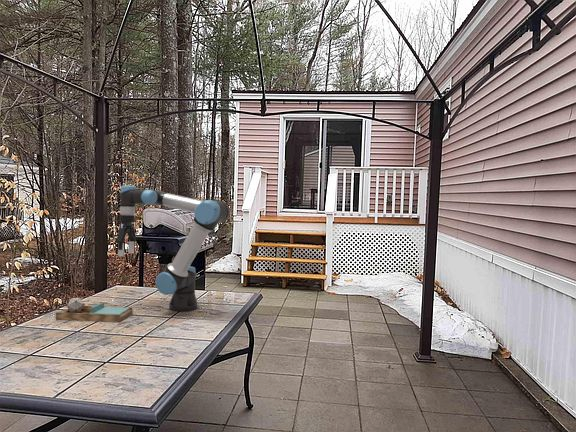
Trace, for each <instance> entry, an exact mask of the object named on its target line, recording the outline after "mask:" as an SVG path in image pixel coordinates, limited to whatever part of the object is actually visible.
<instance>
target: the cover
mask: <svg viewBox="0 0 576 432" xmlns="http://www.w3.org/2000/svg"><path fill="white" fill-rule="evenodd" d="M92 306H93V307H91V311H90V314H110V315H121V314H123V313H125V312H126V311H128V310H130V308H131V307H126V308H117V307H118V306H105V302H104V301H103V302H102V301H101V302H99V303H97V304H95V305H92Z"/></svg>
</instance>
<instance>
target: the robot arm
mask: <svg viewBox="0 0 576 432" xmlns="http://www.w3.org/2000/svg"><path fill="white" fill-rule="evenodd" d="M119 196H120V199H119V200H120V206H119V209H118V210H119V214H120V215H119V222H120V223H119V226H118V227H119V228H118V232H117V236H116V241H115V242H116V244H118V247H117V248H118V249H117V257H124V255H125V239H126V237H127V236H128V239H129V241H128V254H135V242H137V237H136V229H135V222H136V221H135V220H136V217H135V214H136V205H146V206H147V205H151V206H152V205H155V206H161V207H166V208H170V209H175V210H180V211H184V212H188V213H192V214H194V217H193V219H192V220H193V225H192V227H191V229H190V231H189V232H188V234H187V236H186V238H185V240H184V241H183V243H182V245H181V246H180V248H179V250H178V252H176V255H175V257H174V259H173V260H172V262H171V263H168V264H167V265H166V267H165V268H164V270H163V272H160V273H158V275H156V277H155V281H154V282H155V286H156V290H158V292H159V293H161V294H162V295H165V296H170V295H171V299H170V301H169V304H168V305H169V306H168V308H169V310H170V311H171V310H172V311H175V312H176V311H177V312H189V311H195V310H197V309H198V306H199V304H198V301H197V298H196V277H197V276H196V274H197V272H196V271H197V270H196V267H194V266H191V265H192V263H193V261H194V259H195V258H196V256H197V255H198V253H199V251H200V249H201V248H202V245H203V244H204V243H205V241H206V239H207V237H208V235H209V233H211V232H215V229H216V227H217V226H218V224H221V223H224V222H226V221H227V220H228V219H229V217H230V213H231V212H230V207H229V206H228V204H227V203H226V202H224V201H222V200H213V199H207V200H202V199H197V198H191V197H187V196H183V195H178V194H173V193H168V192H165V191H161V190H159V191H158V190H151V189H137V188H136V186H134V185H122V186H121V187H120V193H119ZM121 223H122V224H121ZM194 309H195V310H194Z"/></svg>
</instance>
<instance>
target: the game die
mask: <svg viewBox="0 0 576 432" xmlns="http://www.w3.org/2000/svg"><path fill="white" fill-rule="evenodd" d="M83 306H86V304H85V303H84V302H83V300H82V296H80V297H71V296H69V301H68V303H67V304H66V305H65V307H66V308H67V309H69V312H70V313H76V312H80V313H81V310H82V308H83Z"/></svg>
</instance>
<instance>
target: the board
mask: <svg viewBox="0 0 576 432" xmlns="http://www.w3.org/2000/svg"><path fill="white" fill-rule="evenodd" d="M93 306H94V305H85V306H83V308H82V310H81V313H80V312H76V313H70V312H69V309H68V308H67V309H65V310H63V311H60V312H58V311H57V312H55V320H58V321H59V320H60V321H76V322H77V321H79V322H106V323H107V322H108V323H121V322H123V321H124V320H125V319H127V318H128V317H130V316H132V315H133V307H129V308H130V310H128V311H126V312H125V313H123V314H121V315H110V314H90V311H91V307H93ZM116 307H117V308H127V307H125V306H123V307H121V306H116Z"/></svg>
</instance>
